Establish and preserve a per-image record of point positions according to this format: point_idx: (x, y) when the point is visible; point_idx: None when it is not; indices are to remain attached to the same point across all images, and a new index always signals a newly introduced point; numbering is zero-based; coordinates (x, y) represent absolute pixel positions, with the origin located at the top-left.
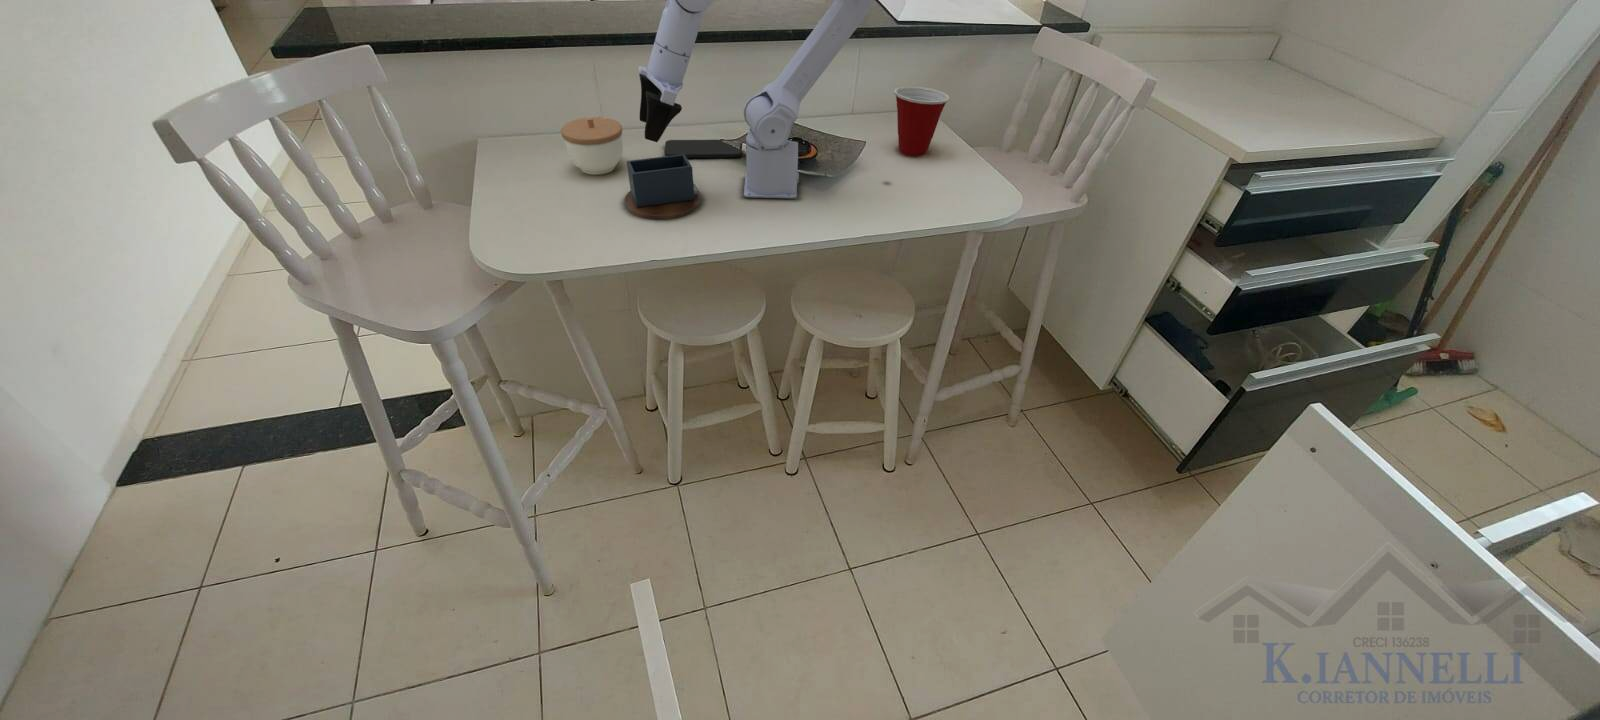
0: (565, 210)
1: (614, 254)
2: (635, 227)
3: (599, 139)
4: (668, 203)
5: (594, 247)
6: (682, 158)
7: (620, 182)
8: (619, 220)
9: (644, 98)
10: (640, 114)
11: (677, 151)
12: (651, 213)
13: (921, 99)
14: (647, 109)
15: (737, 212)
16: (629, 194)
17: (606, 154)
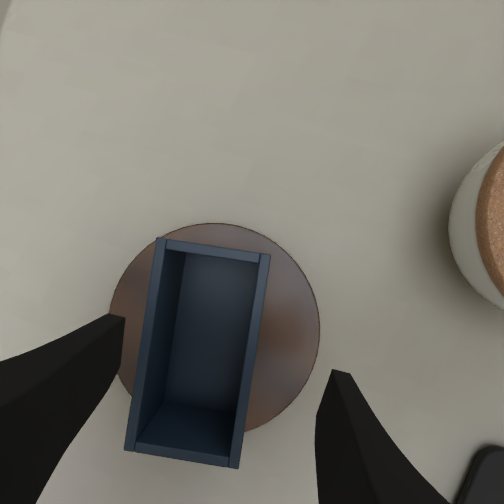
0: (281, 74)
1: (10, 123)
2: (112, 211)
3: (483, 216)
4: None
5: (62, 89)
6: (229, 451)
7: (383, 259)
8: (166, 186)
9: (351, 456)
10: (336, 384)
11: (496, 492)
12: (137, 267)
13: None
14: (24, 378)
15: (69, 485)
16: (271, 250)
17: (457, 238)
